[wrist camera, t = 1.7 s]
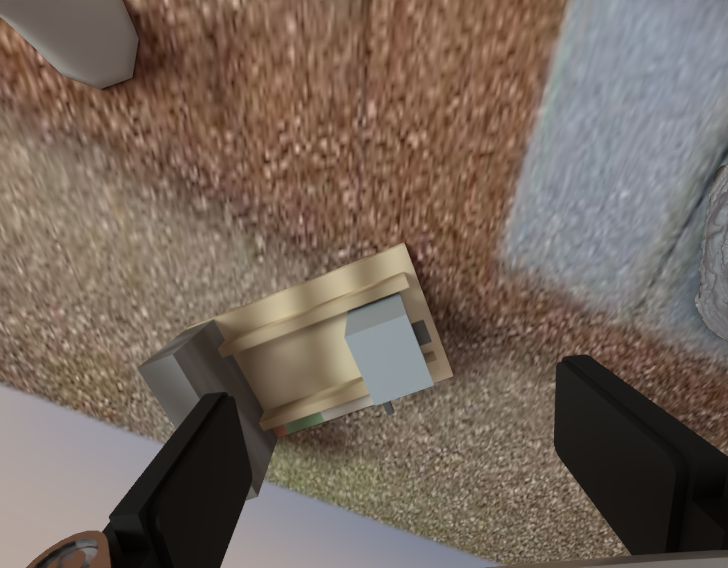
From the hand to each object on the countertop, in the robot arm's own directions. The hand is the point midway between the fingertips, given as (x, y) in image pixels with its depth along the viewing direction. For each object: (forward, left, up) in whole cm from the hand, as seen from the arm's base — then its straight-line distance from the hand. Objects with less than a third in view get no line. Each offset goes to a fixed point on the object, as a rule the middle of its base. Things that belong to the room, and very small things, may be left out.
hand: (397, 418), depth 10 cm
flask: (+14, -25, -23) cm, 36 cm away
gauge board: (+8, +6, -23) cm, 25 cm away
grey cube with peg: (+1, +8, -22) cm, 23 cm away
